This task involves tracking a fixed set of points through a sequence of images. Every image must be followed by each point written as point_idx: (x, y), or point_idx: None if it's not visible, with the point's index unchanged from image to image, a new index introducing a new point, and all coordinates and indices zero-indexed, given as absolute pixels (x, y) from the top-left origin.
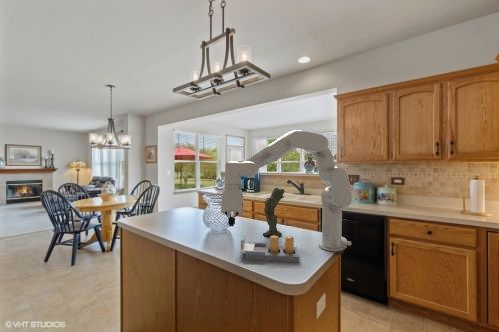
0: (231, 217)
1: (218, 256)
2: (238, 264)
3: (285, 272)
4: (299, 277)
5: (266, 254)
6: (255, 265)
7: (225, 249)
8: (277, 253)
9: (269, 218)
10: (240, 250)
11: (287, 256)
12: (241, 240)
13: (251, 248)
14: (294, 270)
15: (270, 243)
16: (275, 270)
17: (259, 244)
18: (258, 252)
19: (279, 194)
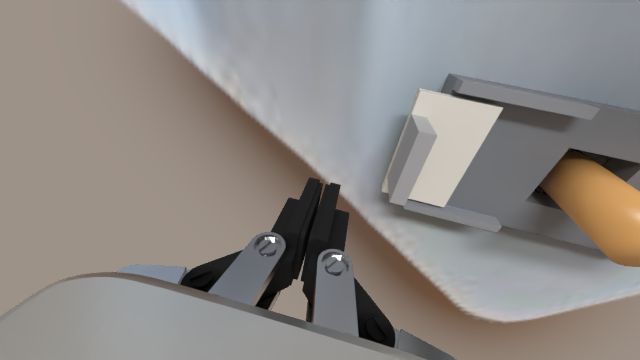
0: (297, 250)
1: (294, 143)
2: (367, 214)
3: (505, 281)
4: (529, 307)
5: (501, 217)
6: (425, 230)
7: (319, 57)
8: (569, 217)
9: None
10: (383, 191)
11: (595, 248)
12: (393, 202)
13: (446, 178)
14: (548, 280)
15: (577, 218)
16: (479, 267)
17: (537, 107)
18: (463, 222)
19: None
